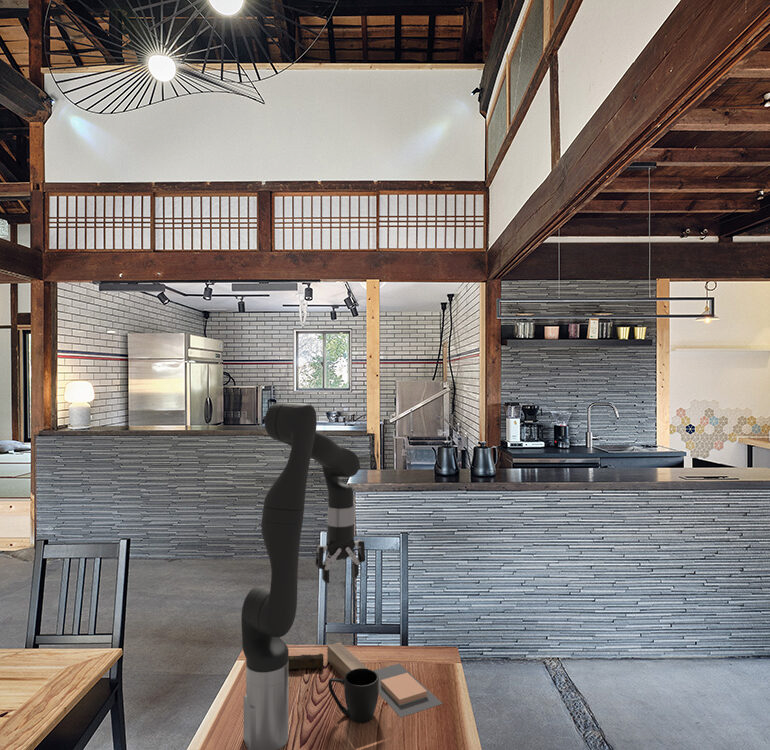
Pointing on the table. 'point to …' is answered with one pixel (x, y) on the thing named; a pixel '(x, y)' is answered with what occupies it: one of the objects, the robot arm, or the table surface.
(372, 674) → the mug
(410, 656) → the table surface
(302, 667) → the hand tool
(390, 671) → the rubber mat
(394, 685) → the tile
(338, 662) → the tan wooden bar
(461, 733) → the table surface
